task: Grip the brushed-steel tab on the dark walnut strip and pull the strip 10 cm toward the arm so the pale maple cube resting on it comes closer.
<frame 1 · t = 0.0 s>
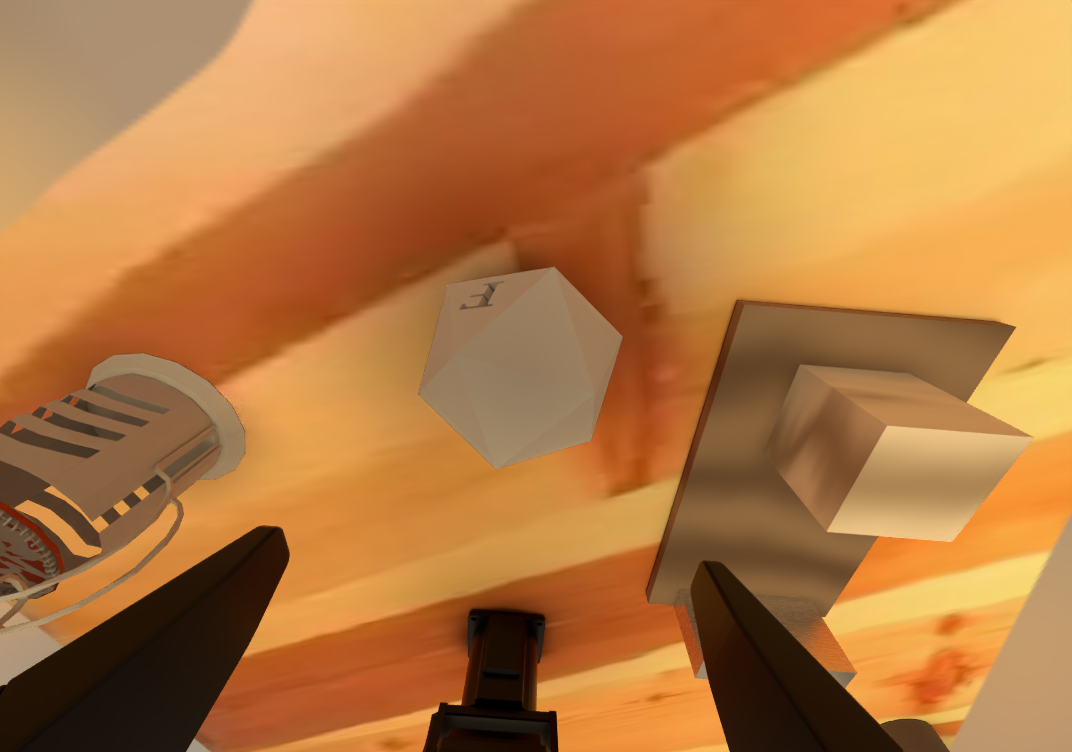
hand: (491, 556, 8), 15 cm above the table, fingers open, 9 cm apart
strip: (813, 519, 23), point 3 cm above the table, slide at 0.0 cm, touching cube
cube: (831, 415, 22), point 1 cm above the table, touching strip
candle holder: (897, 731, 40), on the table
die: (526, 334, 22), on the table
french press: (184, 422, 25), on the table
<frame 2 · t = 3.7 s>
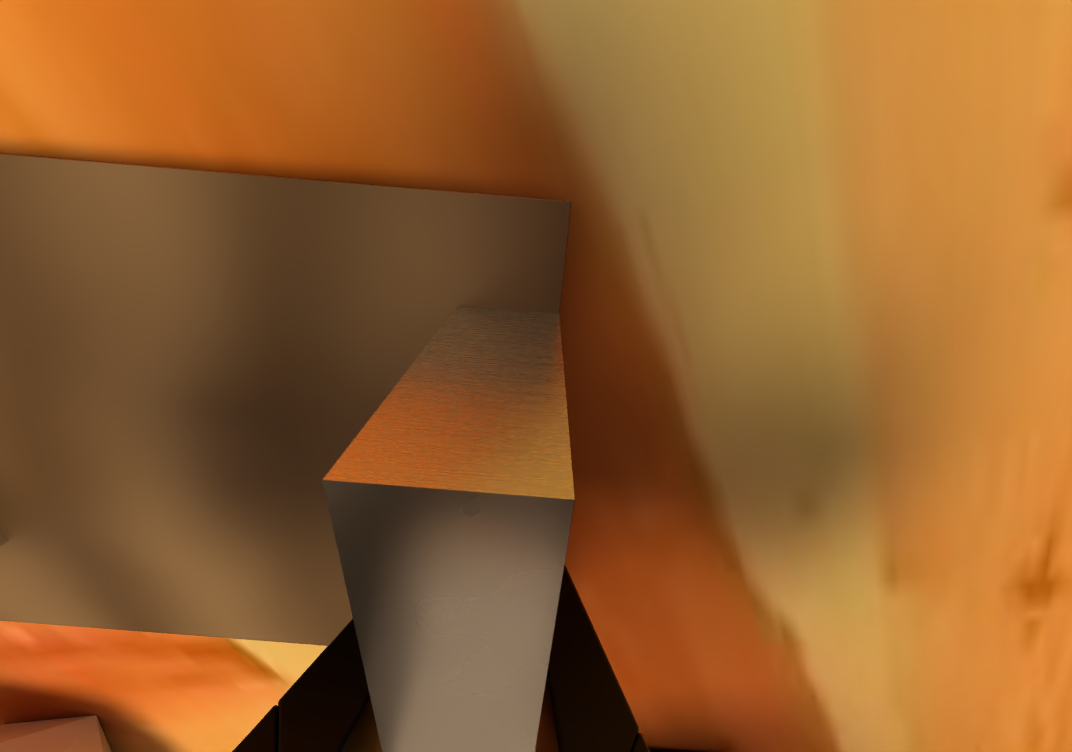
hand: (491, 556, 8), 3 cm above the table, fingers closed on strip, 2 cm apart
die: (78, 730, 19), on the table
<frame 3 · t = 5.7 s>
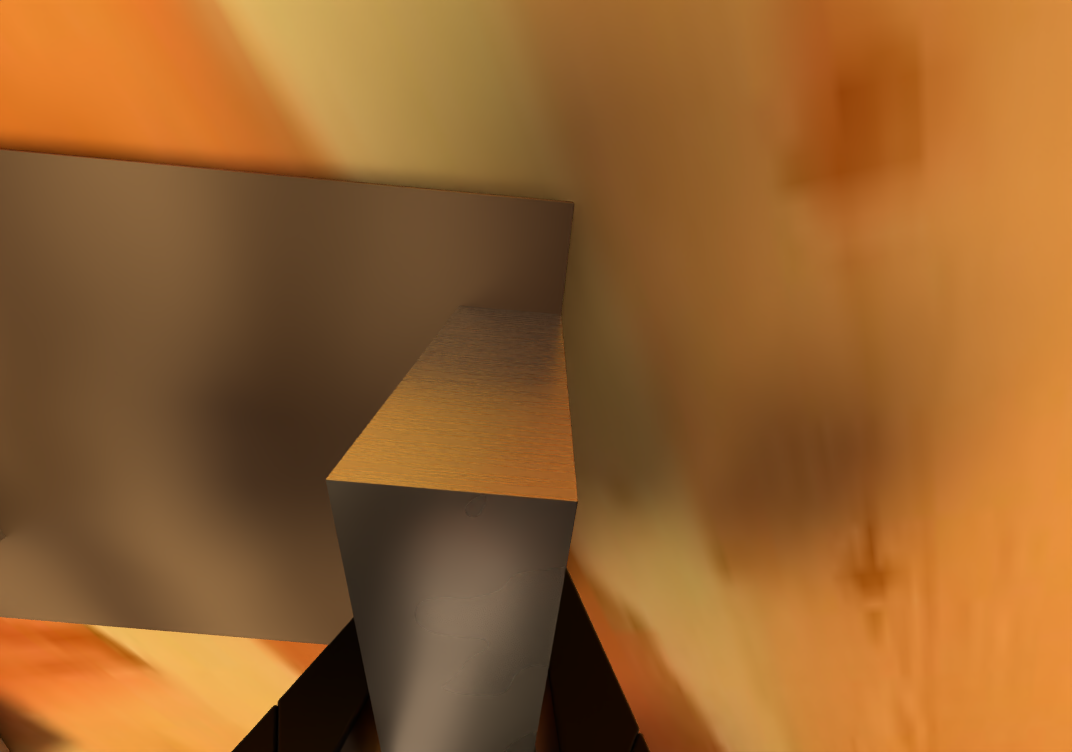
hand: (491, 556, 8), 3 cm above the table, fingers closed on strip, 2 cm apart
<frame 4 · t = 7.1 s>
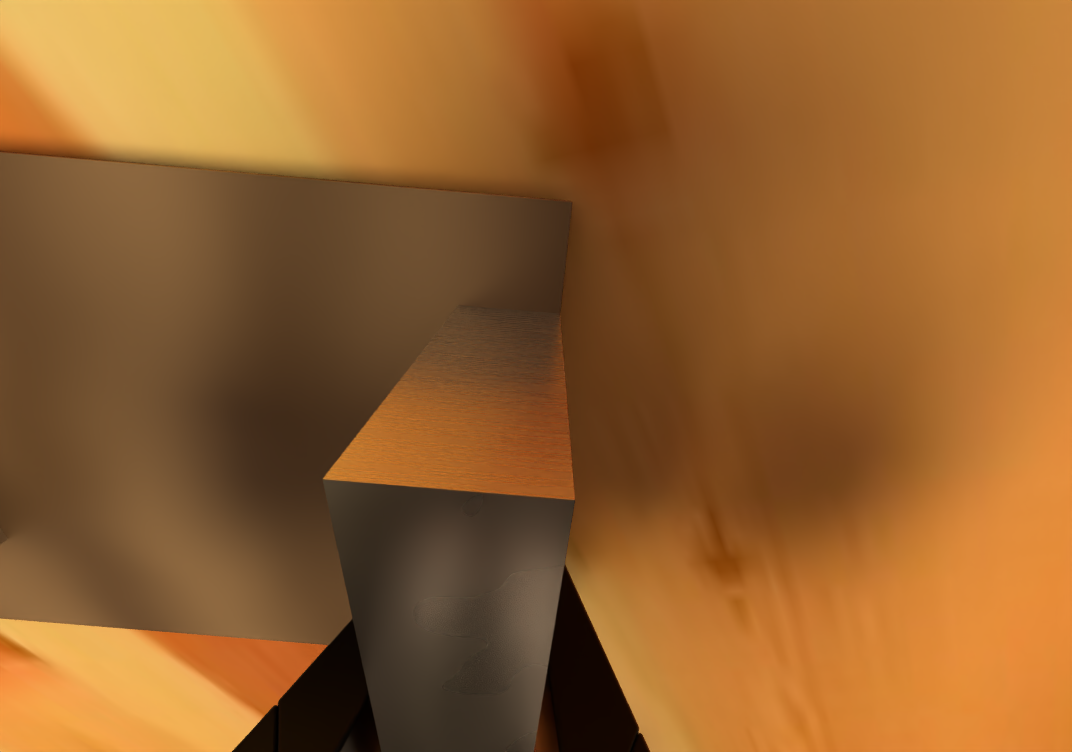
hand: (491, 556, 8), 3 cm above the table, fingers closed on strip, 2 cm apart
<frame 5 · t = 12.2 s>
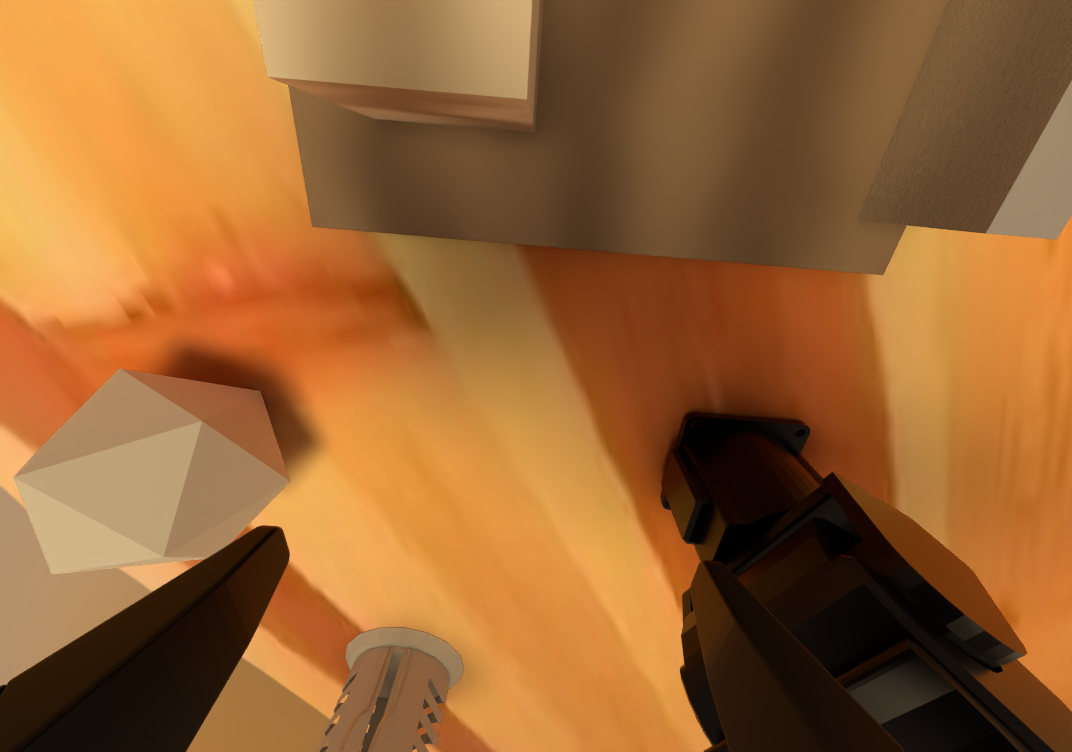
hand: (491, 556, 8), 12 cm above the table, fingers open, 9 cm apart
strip: (644, 10, 11), point 3 cm above the table, slide at 9.9 cm, touching cube
cube: (453, 20, 13), point 1 cm above the table, touching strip
die: (236, 420, 22), on the table
french press: (405, 654, 32), on the table
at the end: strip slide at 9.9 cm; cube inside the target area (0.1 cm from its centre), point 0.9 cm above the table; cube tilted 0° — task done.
